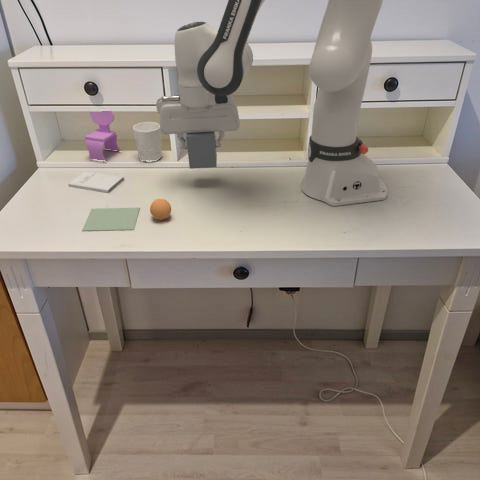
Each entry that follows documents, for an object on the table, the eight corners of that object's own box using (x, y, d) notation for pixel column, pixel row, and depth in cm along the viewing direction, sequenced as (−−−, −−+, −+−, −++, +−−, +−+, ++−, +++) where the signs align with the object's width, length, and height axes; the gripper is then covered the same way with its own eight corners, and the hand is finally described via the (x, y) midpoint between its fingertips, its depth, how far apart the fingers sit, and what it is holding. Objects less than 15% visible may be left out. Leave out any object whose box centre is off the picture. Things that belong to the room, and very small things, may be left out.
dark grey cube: (216, 156, 128) (214, 125, 123) (216, 167, 122) (213, 135, 117) (191, 157, 128) (187, 126, 123) (189, 168, 122) (186, 136, 117)
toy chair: (85, 160, 141) (75, 111, 133) (102, 149, 148) (93, 102, 140) (109, 164, 139) (100, 115, 130) (124, 152, 146) (117, 105, 137)
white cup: (158, 164, 138) (154, 132, 133) (133, 162, 140) (128, 130, 134) (167, 153, 145) (163, 122, 139) (143, 151, 146) (138, 120, 140)
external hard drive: (108, 195, 124) (69, 188, 128) (124, 181, 131) (86, 175, 134) (107, 189, 123) (67, 182, 127) (123, 176, 130) (85, 170, 133)
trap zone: (139, 208, 117) (139, 207, 117) (133, 230, 109) (133, 229, 109) (91, 209, 117) (91, 208, 117) (82, 231, 109) (81, 230, 109)
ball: (172, 212, 116) (171, 194, 113) (171, 223, 112) (169, 205, 109) (152, 213, 116) (150, 195, 113) (150, 223, 111) (147, 205, 109)
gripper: (153, 100, 112) (161, 154, 120) (238, 96, 112) (240, 150, 120) (156, 93, 118) (163, 144, 125) (237, 88, 118) (240, 141, 125)
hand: (202, 147), depth 123 cm, fingers closed on dark grey cube, 7 cm apart
